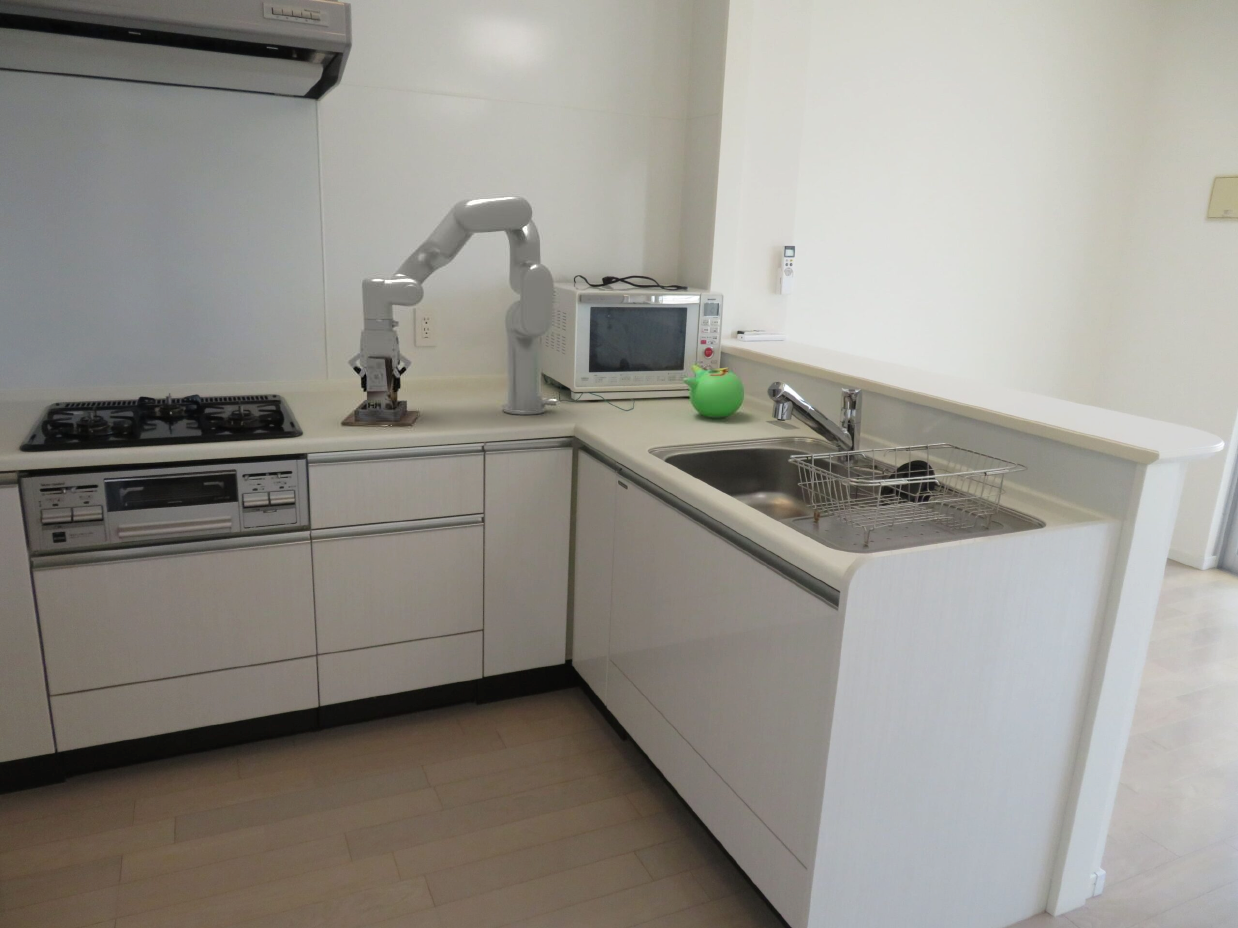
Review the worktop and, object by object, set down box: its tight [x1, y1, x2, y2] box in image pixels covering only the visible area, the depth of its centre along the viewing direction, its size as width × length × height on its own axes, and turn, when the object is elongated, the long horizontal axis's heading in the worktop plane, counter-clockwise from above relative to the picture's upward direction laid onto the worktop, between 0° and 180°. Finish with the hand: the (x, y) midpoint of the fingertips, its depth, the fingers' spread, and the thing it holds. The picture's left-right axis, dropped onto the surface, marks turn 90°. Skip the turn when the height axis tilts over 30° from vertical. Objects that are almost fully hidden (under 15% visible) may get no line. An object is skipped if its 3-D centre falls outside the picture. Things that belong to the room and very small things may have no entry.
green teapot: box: [682, 364, 745, 419], centre depth 260 cm, size 18×17×15 cm
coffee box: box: [366, 357, 399, 410], centre depth 242 cm, size 9×6×16 cm
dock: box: [340, 399, 421, 427], centre depth 243 cm, size 18×16×4 cm
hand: (381, 390), depth 242 cm, fingers open, 7 cm apart
